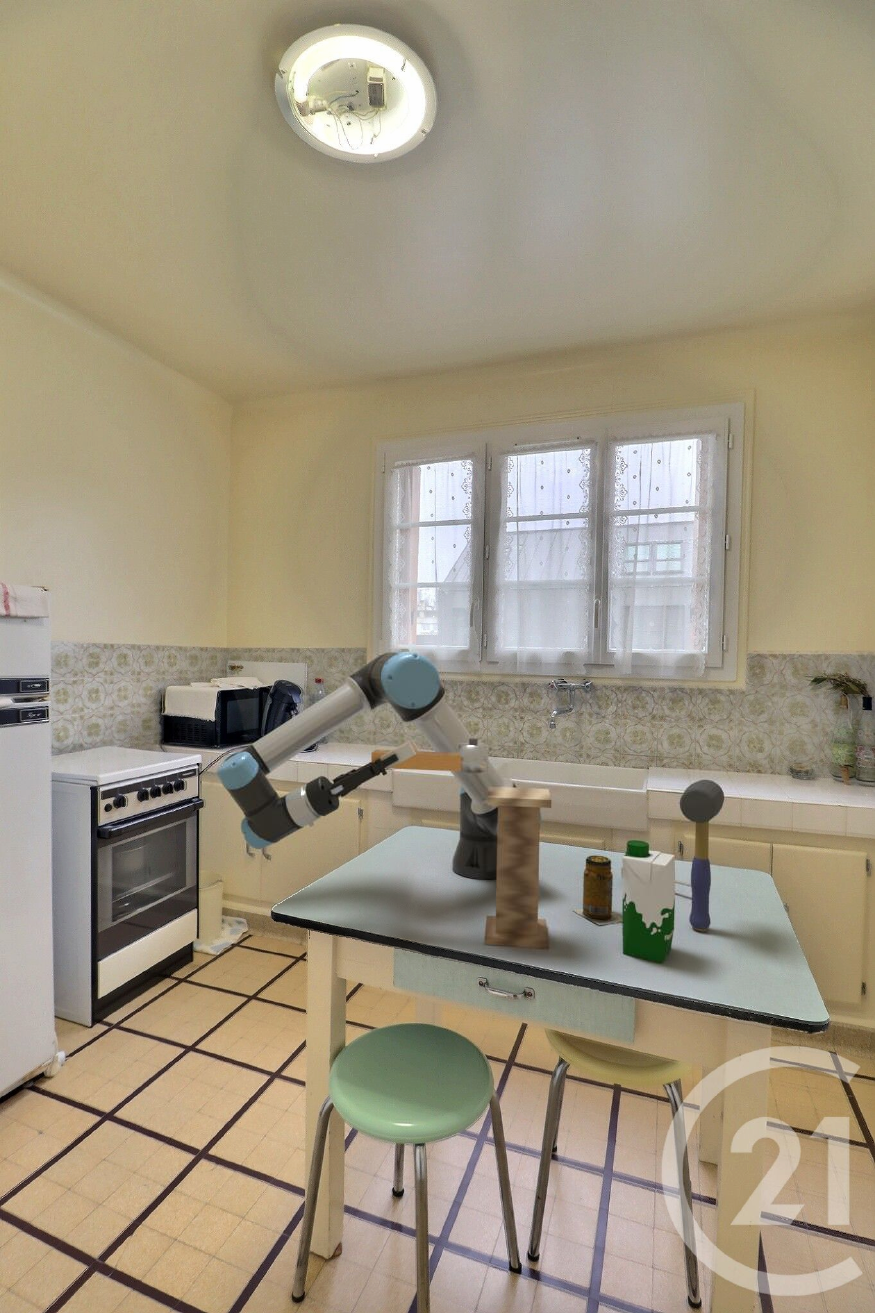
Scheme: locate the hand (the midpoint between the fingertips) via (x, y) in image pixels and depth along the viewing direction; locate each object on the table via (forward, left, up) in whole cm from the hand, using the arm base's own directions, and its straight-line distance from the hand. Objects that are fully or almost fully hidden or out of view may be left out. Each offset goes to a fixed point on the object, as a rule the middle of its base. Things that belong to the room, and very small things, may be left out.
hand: (413, 746), depth 130 cm
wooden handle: (-2, +1, -4) cm, 5 cm away
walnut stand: (-18, +10, -36) cm, 42 cm away
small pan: (-63, 0, -37) cm, 73 cm away
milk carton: (-38, +25, -37) cm, 58 cm away
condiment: (-40, +8, -37) cm, 55 cm away
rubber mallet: (-55, +21, -37) cm, 69 cm away
